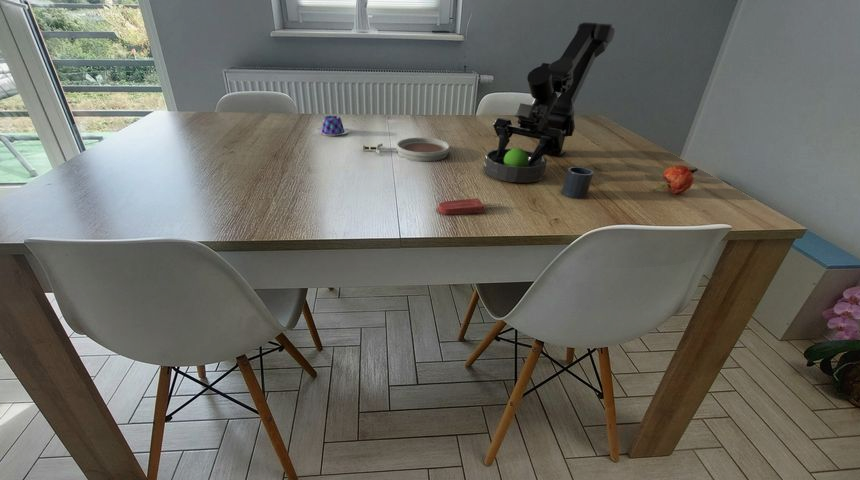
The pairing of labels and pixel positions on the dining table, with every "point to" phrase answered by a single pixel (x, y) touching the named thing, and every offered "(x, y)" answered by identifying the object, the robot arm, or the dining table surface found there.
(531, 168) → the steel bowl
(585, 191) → the stand cup
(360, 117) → the dining table surface
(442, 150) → the frying pan
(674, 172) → the red rounded piece
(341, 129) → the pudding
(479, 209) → the popsicle
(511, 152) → the ball
